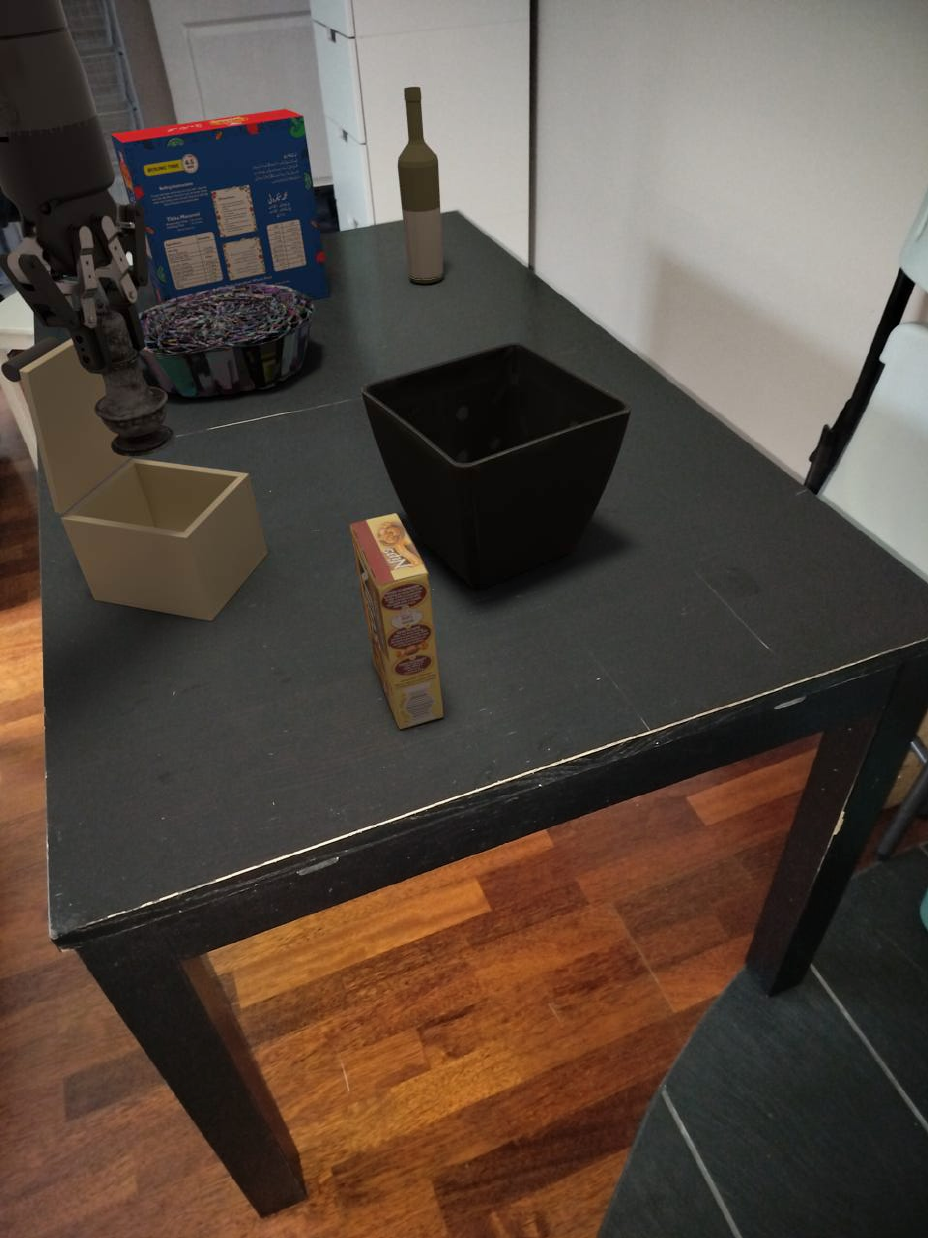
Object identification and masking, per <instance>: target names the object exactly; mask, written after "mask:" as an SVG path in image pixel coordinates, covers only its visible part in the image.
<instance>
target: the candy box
mask: <svg viewBox="0 0 928 1238" xmlns="http://www.w3.org/2000/svg"><path fill="white" fill-rule="evenodd" d="M349 529H350V536H351V541H352V542H351V543H352V547H353V553H354V559H355V564H356V565H355V566H356V569H357V574H358V582H359V586H360V592H361V598H362V604H363V609H364V616H365V621H366V626H367V631H368V636H369V642H370V647H371V654H372V659H373V665H374V667H375V670H376V673H377V675H378V678H379V681H380V684H381V686H382V689H383V693H384V694H385V697H386V699H387V702H388V705H389V707H390V711H391V712H392V715H393V718H394V720H395V722H396V725H397V727H398V729H399V730H404V729H407V728H411V727H414V726H417V725H420V724H424V723H427V722H431V721H434V720H438V719H441V718H444V707H443V706H444V705H443V699H442V697H443V696H442V689H441V679H440V670H439V669H440V668H439V661H438V651H437V650H438V649H437V641H436V631H435V630H436V629H435V622H434V613H433V604H432V595H431V594H432V593H431V585H430V584H431V583H430V574H429V571H428V569H427V566H426V565H425V562H424V561H423V559H422V557H421V555H420V553H419V551H418V550H417V548H416V546H415V544H414V541H413V540H412V538H411V537H410V535H409V533H408V532H407V529H406V527H405V525H404V524H403V523H402V520H401V518H400V517H399V515H398V513H395V512H394V513H391V514H387V515H382V516H378V517H373V518H368V519H365V520H360V521H356V522H353V523H350V524H349Z"/></svg>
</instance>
